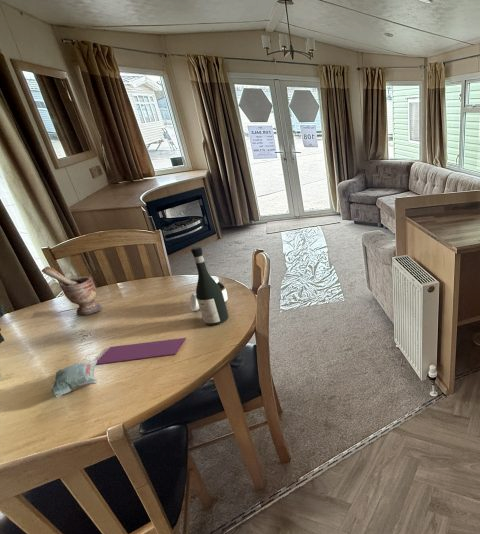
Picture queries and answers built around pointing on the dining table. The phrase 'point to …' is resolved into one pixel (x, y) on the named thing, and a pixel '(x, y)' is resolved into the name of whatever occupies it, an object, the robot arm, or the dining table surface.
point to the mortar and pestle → (77, 291)
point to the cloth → (141, 351)
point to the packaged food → (74, 378)
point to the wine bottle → (208, 293)
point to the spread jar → (193, 299)
